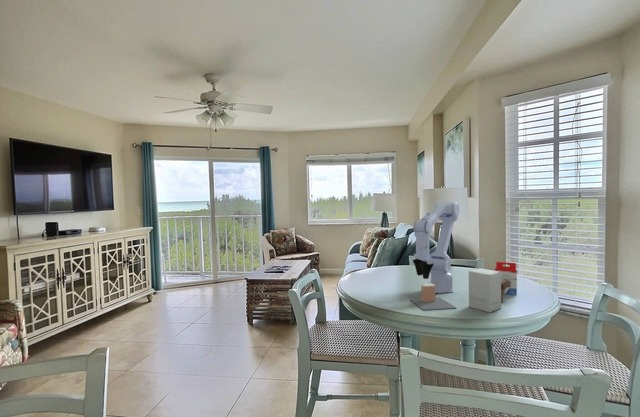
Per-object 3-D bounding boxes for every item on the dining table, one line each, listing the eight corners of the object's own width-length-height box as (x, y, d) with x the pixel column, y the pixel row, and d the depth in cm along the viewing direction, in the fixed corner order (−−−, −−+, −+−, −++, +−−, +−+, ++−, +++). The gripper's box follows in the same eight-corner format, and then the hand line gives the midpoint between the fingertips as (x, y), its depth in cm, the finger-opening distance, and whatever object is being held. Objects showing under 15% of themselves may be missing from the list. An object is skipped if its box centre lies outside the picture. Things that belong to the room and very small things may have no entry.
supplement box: (502, 308, 128) (502, 271, 127) (489, 313, 123) (489, 274, 122) (480, 302, 135) (480, 267, 135) (467, 306, 130) (467, 270, 130)
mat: (439, 297, 142) (439, 297, 142) (456, 308, 128) (456, 307, 128) (409, 299, 140) (409, 298, 140) (423, 310, 127) (423, 309, 127)
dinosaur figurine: (497, 296, 143) (497, 276, 143) (511, 299, 138) (511, 278, 138) (480, 302, 136) (480, 280, 136) (494, 305, 131) (494, 283, 131)
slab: (432, 299, 139) (432, 283, 139) (435, 301, 136) (435, 285, 136) (421, 300, 138) (421, 284, 138) (424, 302, 136) (424, 285, 135)
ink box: (515, 292, 149) (515, 261, 149) (516, 295, 145) (517, 263, 144) (494, 290, 153) (494, 259, 152) (495, 293, 148) (495, 261, 148)
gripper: (407, 244, 149) (407, 273, 149) (421, 249, 135) (421, 281, 135) (422, 244, 150) (422, 272, 150) (436, 249, 135) (437, 280, 136)
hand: (422, 276), depth 143 cm, fingers open, 6 cm apart
